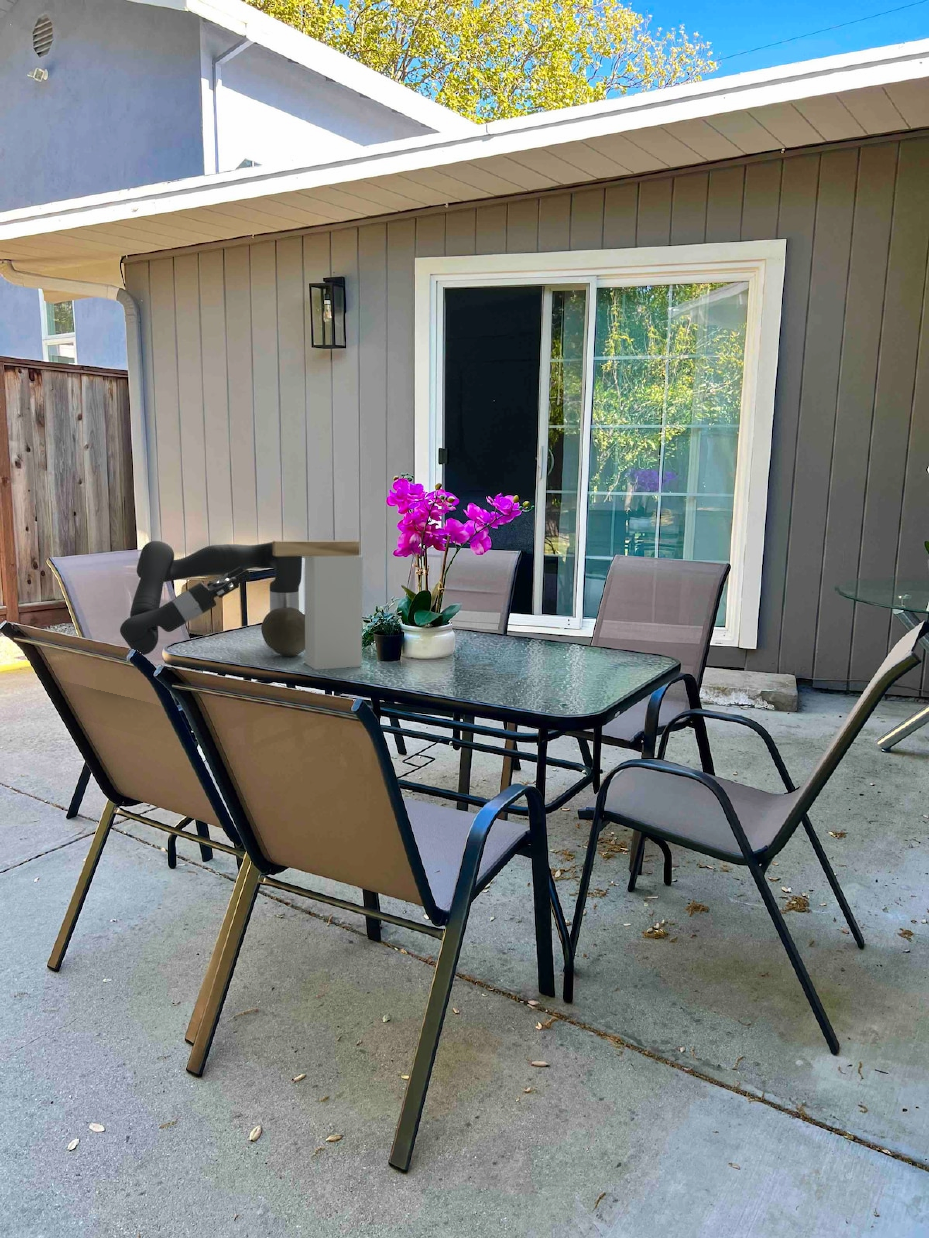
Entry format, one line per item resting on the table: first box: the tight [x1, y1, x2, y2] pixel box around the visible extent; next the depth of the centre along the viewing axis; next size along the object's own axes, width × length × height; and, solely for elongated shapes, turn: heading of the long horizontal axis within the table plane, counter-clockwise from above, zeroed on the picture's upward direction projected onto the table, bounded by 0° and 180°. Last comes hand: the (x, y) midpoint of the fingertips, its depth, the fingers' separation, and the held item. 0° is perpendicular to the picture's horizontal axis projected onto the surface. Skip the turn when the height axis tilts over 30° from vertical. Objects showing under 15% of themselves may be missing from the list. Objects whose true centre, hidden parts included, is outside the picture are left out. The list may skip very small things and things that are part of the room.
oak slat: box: [272, 539, 360, 557], centre depth 248 cm, size 4×24×4 cm, turn 116°
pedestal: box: [304, 554, 364, 671], centre depth 253 cm, size 10×14×32 cm
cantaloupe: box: [260, 607, 305, 657], centre depth 265 cm, size 14×14×15 cm
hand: (246, 571), depth 241 cm, fingers open, 8 cm apart
